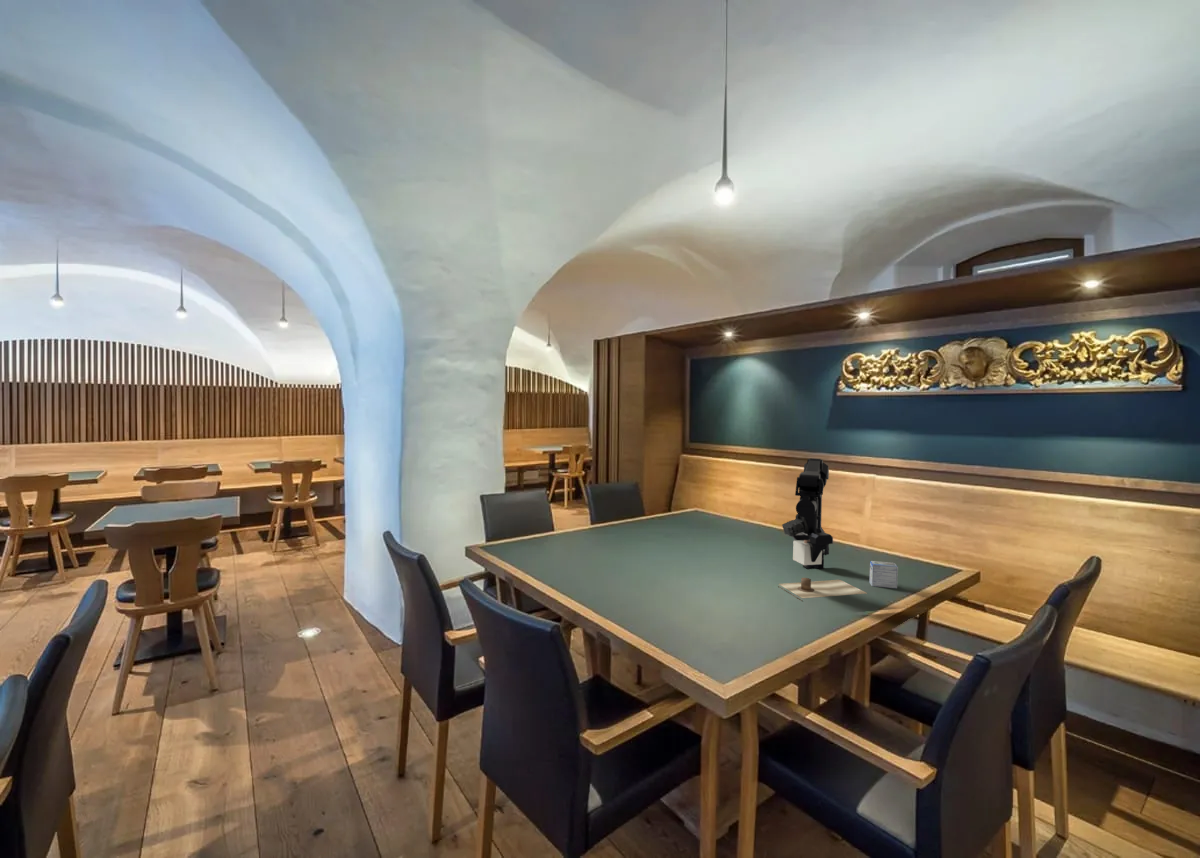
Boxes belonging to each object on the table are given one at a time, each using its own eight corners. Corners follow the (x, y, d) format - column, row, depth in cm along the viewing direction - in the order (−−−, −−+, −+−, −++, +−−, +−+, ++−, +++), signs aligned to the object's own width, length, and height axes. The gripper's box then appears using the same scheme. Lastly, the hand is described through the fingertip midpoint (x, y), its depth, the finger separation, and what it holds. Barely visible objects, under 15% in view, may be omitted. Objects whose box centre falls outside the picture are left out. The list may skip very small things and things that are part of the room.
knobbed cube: (792, 559, 183) (793, 538, 183) (809, 558, 184) (810, 537, 184) (804, 565, 177) (804, 543, 176) (821, 564, 178) (822, 542, 178)
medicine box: (894, 587, 188) (895, 562, 187) (897, 591, 183) (898, 566, 183) (868, 584, 190) (869, 560, 189) (871, 589, 185) (872, 564, 185)
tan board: (778, 586, 186) (778, 573, 186) (839, 582, 192) (839, 569, 192) (801, 601, 173) (802, 587, 173) (867, 596, 178) (867, 582, 178)
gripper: (771, 507, 187) (770, 552, 188) (803, 519, 169) (801, 568, 170) (800, 506, 189) (799, 550, 190) (834, 517, 171) (833, 566, 172)
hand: (807, 558), depth 180 cm, fingers closed on knobbed cube, 6 cm apart
